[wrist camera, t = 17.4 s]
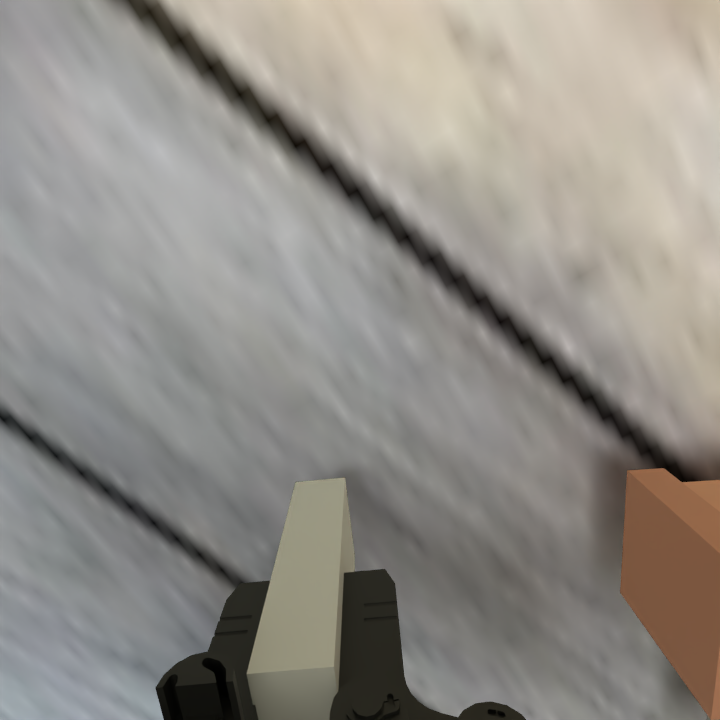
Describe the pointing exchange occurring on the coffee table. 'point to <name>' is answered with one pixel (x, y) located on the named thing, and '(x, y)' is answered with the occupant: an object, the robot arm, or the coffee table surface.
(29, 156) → the coffee table surface
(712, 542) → the terracotta plug
